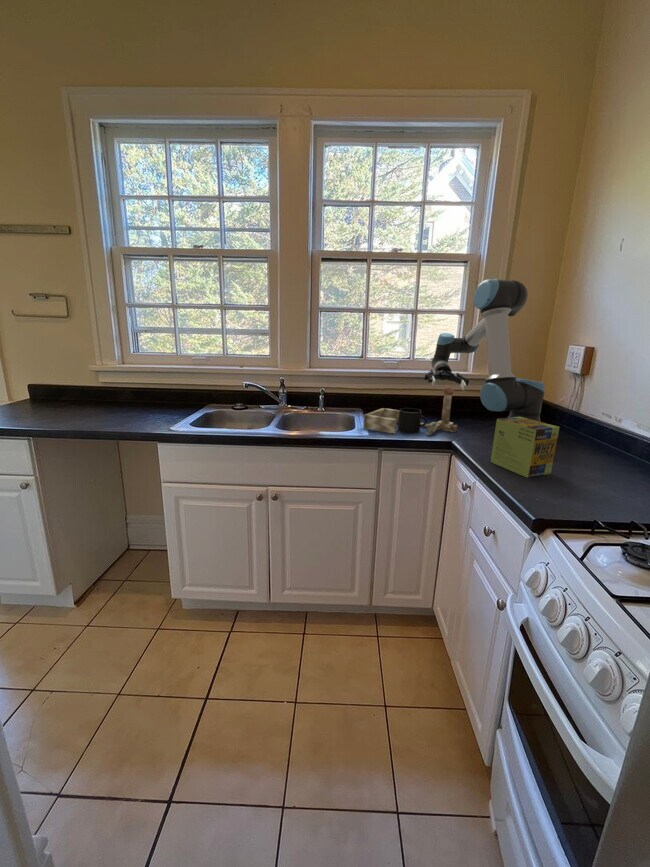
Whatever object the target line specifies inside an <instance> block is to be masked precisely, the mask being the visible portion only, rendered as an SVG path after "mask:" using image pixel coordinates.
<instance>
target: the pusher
mask: <svg viewBox="0 0 650 867" xmlns="http://www.w3.org/2000/svg"><path fill="white" fill-rule="evenodd" d="M453 394H454V388H453V387H452V386H445V387H444V388H443V402H442V403H443V404H442V410H441V420H439V421H432V422H429V423H427V424H428V425H427V428H426V432H425V433H426V435H427V436H431V435H433V434H435V433H436V431H438V430H437V429H438V428H446V429H451V427H452V426H453V425H454V422H452V421H450V416H451V406H452V397H453Z"/></svg>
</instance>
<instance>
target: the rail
mask: <svg viewBox="0 0 650 867" xmlns="http://www.w3.org/2000/svg"><path fill="white" fill-rule="evenodd" d="M424 423H425V422H421V424H424ZM428 424H429V423H426V425H424V426H421V427H420V428H423V427H425V429H427V425H428ZM458 426H459V425H458V424H453V426H452V427H451V429H446V428H438V429H437V430H436V431H441V430H443V432H447V431H450V432H449V433H453V432H455V433H456V432H457V431H458Z"/></svg>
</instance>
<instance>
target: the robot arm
mask: <svg viewBox="0 0 650 867" xmlns="http://www.w3.org/2000/svg"><path fill="white" fill-rule="evenodd" d="M528 296H529V295H528V288H527V287H526V285H525V284H524V283H522V282H521V281H519V280H512V279H511V280H510V279H499V278H491V279H490V278H489V279H488V278H487V279H485V280H483V281H482V282H480V283H479V285H478V286H477V288H476V289H475V291H474V295H473V304H474V307H475V308H477V309H478V310H480V316H481V317H482V319H481V320H480V321H479V322H477V324H476V325H475V326H474V327H473V328H471V330H470V331H469V332H468V333H466V334H465V335H464V336H462V337H455V335H454V334H452V333H448V332H441V333H439V336H438V337H437V342H436V348H435V353H434V355H433V357H432V358H431V361H430V363H431V367H432V368H433V369H429V370H430V371H428V372H427V373H425V375H424V378H423V379H424V381H427V383H431V386H432V387H433V388H434V387H435V385H436V380H441V381H450V382H454V383H456V384H459V385H460V387H461V389H462V391H464V392H465V391H466V387H467V386H469V383H470V379H468V378H467V377H464V376H463V375H461V374H460V373H459V372H456V373H453V372H452V369H451V367H450V365H449V360H450V356H451V354H473V352H474V353H476V352H477V351H478V348H479V346H480V343H482V341H483V340H485V339H486V352H487V363H488V364H487V366H488V368H487V369H488V377H487V378H485V379H484V380H485V384H483V385H482V386H481V389H480V390H479V396H480V402H481V403H482V405H483V407H485V408H486V409H487V410H489V411H491V412H508V411H509V415H508V416H507V418H509V417H523V418H527V419H531V420H535V421H539V422H542V421H541V412H542V408H543V401H544V397H545V389H546V388H545V386H546V385H545V383H544V382H542V381H538V380H532V379H525V378H518V377H516V375H515V374H513V372H512V360H511V347H510V333H509V318H510V317H514V316H515V315H517V314H518V313H520V311H522V309H523V308H524V306H525V305H526V303H527V300H528ZM476 350H477V351H476ZM475 351H476V352H475Z"/></svg>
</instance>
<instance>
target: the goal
mask: <svg viewBox="0 0 650 867" xmlns="http://www.w3.org/2000/svg"><path fill="white" fill-rule="evenodd" d="M398 421H399V410H398V409H392V408H387V407H386V408H385V407H382V408H379V409H376V410H374V411H370V412H368V413H365V414H363V423H362V424H363V426H362V428H363V429H366V430H370V431H376V432H377V431H378V432H381V433H386V434H388V433H389V434H392V433H393V434H394V435H395V434H397V427H398V424H397V423H398Z"/></svg>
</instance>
